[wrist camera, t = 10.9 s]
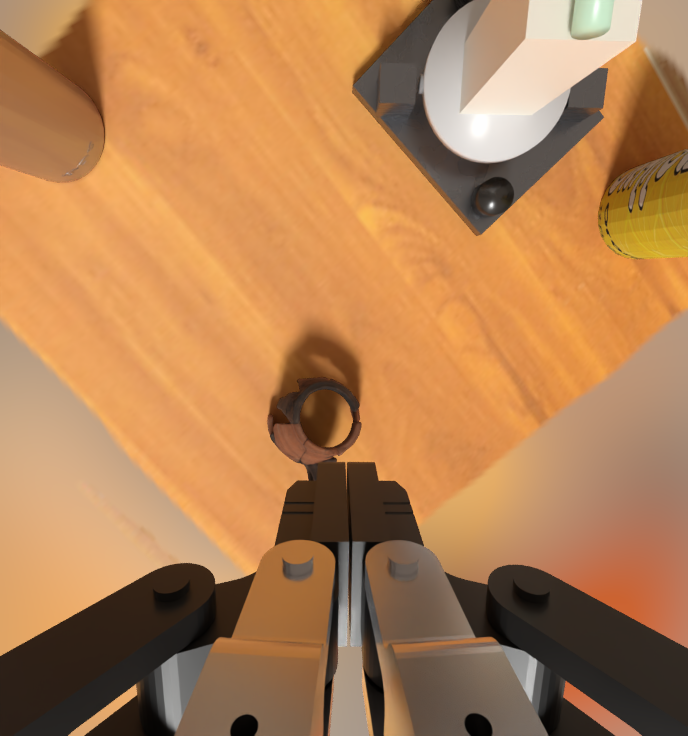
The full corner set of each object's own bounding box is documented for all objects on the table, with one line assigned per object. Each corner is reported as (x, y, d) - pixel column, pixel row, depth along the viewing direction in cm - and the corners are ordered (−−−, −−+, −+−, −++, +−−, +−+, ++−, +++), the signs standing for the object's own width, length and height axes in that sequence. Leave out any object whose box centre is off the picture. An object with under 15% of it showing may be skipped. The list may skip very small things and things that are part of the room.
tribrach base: (350, 94, 41) (352, 70, 36) (475, -40, 39) (495, -85, 34) (474, 237, 44) (491, 233, 39) (597, 120, 42) (631, 100, 37)
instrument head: (414, 163, 39) (471, 97, 22) (422, 3, 36) (495, -209, 19) (552, 166, 39) (710, 103, 23) (572, 8, 36) (771, -198, 20)
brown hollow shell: (252, 392, 48) (271, 383, 40) (330, 374, 52) (360, 363, 44) (278, 500, 47) (302, 512, 40) (354, 474, 51) (390, 480, 44)
